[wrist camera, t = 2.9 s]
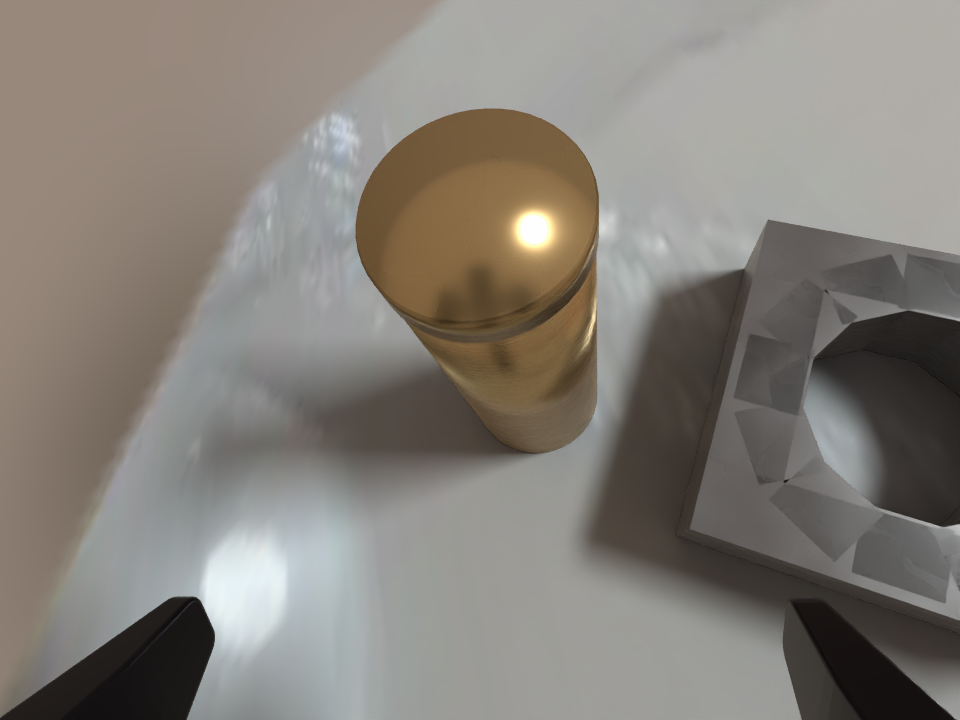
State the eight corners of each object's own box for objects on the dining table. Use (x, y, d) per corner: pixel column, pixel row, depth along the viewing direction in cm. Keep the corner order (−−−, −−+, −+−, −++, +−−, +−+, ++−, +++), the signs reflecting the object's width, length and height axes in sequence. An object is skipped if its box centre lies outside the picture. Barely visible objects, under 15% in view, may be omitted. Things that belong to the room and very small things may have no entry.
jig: (1046, 663, 18) (1146, 683, 14) (675, 535, 21) (689, 528, 18) (1074, 337, 21) (1163, 293, 17) (744, 267, 24) (767, 219, 20)
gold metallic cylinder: (516, 478, 23) (424, 371, 11) (455, 378, 24) (316, 189, 12) (623, 410, 23) (652, 226, 11) (554, 315, 25) (511, 68, 13)
